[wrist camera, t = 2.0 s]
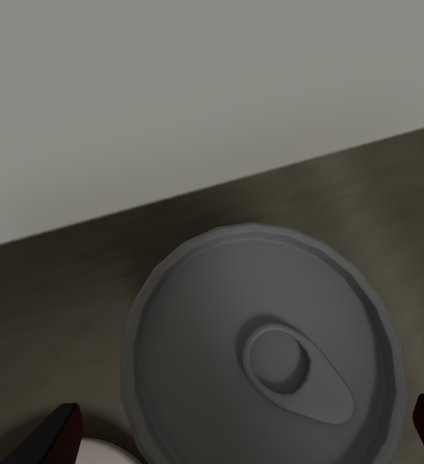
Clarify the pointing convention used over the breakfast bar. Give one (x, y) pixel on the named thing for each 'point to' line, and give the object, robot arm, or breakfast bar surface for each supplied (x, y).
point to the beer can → (262, 355)
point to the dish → (103, 453)
